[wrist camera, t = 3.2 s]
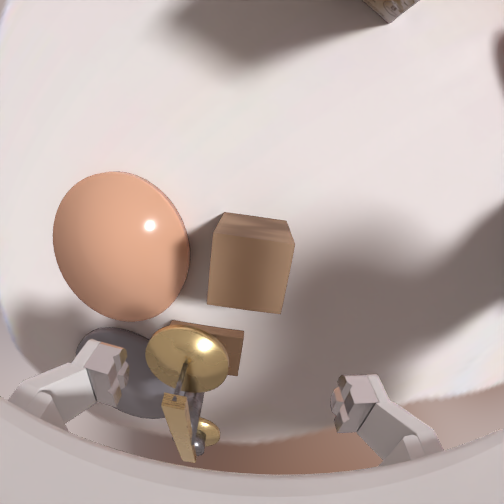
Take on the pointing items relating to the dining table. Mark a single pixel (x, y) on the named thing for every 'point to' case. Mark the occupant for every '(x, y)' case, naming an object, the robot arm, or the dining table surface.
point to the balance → (192, 377)
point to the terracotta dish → (121, 246)
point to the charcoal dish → (134, 374)
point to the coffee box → (390, 7)
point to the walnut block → (250, 263)
